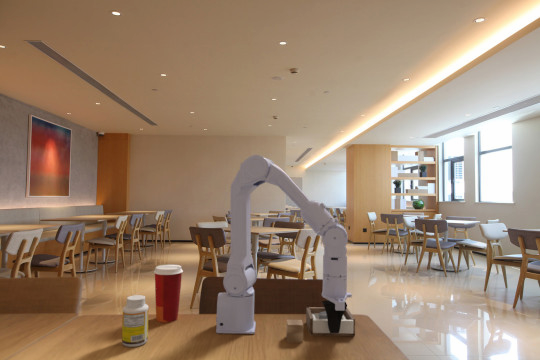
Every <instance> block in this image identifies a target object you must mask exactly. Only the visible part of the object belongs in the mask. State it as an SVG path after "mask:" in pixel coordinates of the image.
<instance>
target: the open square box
mask: <svg viewBox="0 0 540 360" xmlns="http://www.w3.org/2000/svg"><path fill="white" fill-rule="evenodd" d="M305 308H306V309H305V310H306V311H305V324H306V326H307V330H308V333H309V335H310V336H331V337H332V336H335V337H337V336H338V337H340V336H342V337H347V336H348V337H356V319H355V317H354V316H353V314H352V313H351V311H350V310H349V309H348V307H347V308H346V310H345V312H344V316H345V317H346V319H347V320H353V321H354V324H353V334H351V333H313V319H314V318H313V316H312V313H320V312H323V311H325V308H324V306H321V307H319V306H318V307H316V306H313V307H311V306H306V307H305Z"/></svg>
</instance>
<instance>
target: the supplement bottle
mask: <svg viewBox="0 0 540 360" xmlns="http://www.w3.org/2000/svg"><path fill="white" fill-rule="evenodd" d="M121 321H122V326H121V327H122V328H121V331H122V332H121V343H122V345H123V346H124V347H128V348H133V347H134V348H135V347H140V346H143V345H144V344H146V343H147V342H148V340H149V305H148V304H147V303H146V296H145V295H142V294H141V295H140V294H135V295H130V296H127V298H126V305H124V306H123V308H122V320H121Z"/></svg>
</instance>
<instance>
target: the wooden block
mask: <svg viewBox="0 0 540 360" xmlns="http://www.w3.org/2000/svg"><path fill="white" fill-rule="evenodd" d="M286 341H287V343H304V323H303V320H302V319H286Z"/></svg>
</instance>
